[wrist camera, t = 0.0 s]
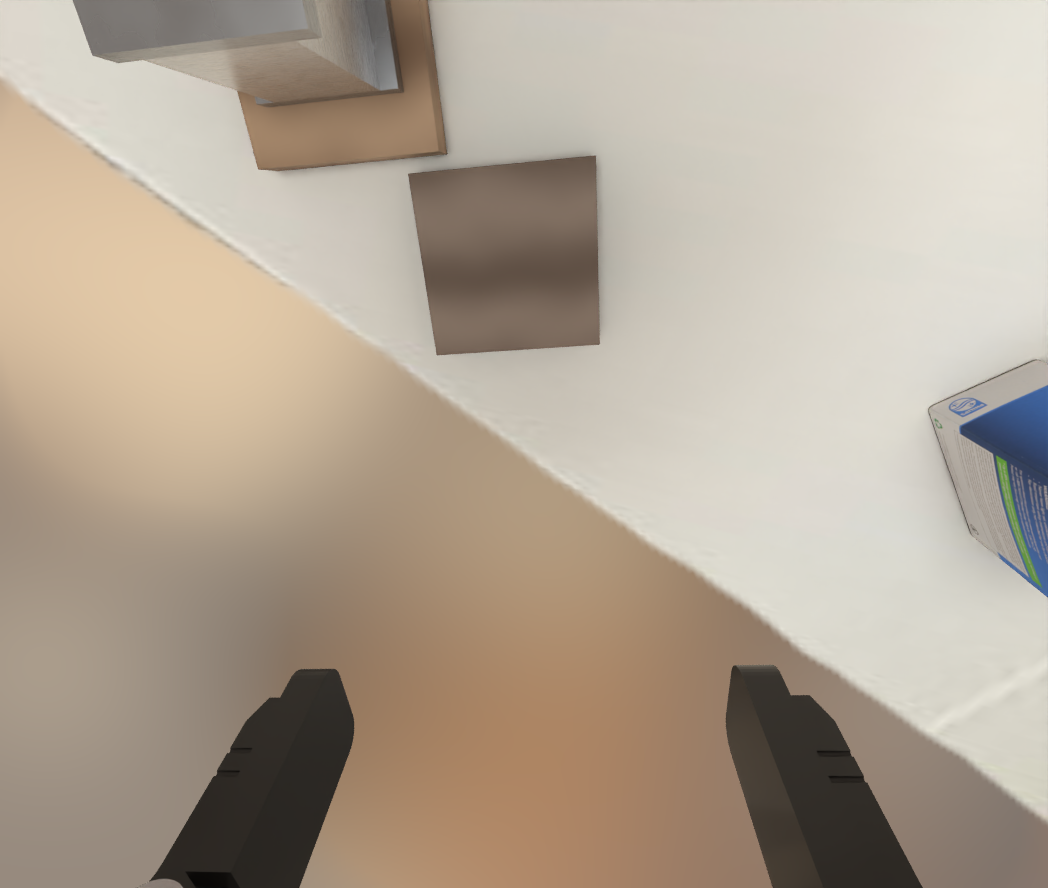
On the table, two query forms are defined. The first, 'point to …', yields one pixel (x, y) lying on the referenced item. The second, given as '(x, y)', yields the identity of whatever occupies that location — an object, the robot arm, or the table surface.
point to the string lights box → (1002, 465)
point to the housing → (256, 44)
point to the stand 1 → (359, 113)
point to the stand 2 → (510, 255)
